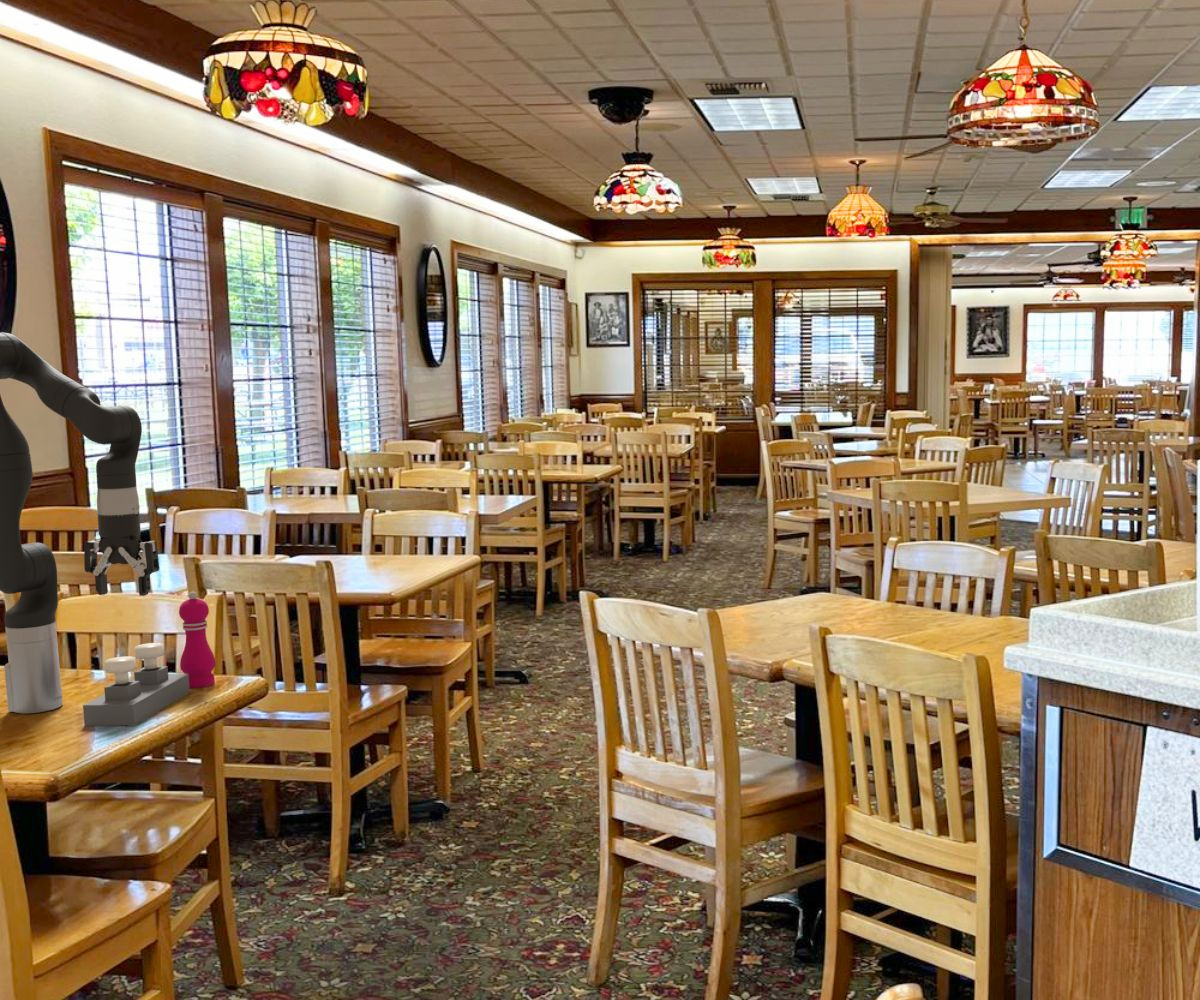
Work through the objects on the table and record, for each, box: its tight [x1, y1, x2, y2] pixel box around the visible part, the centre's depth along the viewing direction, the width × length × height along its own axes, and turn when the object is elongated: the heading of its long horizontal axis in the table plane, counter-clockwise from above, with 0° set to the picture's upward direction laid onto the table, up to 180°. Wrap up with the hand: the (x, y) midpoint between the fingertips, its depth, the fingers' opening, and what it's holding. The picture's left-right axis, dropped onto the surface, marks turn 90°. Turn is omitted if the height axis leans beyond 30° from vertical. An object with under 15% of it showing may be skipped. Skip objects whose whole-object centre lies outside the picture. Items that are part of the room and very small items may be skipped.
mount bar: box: [82, 665, 191, 727], centre depth 253 cm, size 10×24×6 cm, turn 173°
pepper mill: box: [178, 591, 217, 689], centre depth 271 cm, size 7×7×20 cm
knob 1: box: [104, 655, 137, 684], centre depth 247 cm, size 6×6×4 cm
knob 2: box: [134, 642, 165, 669], centre depth 259 cm, size 6×6×4 cm
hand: (123, 594), depth 246 cm, fingers open, 8 cm apart
